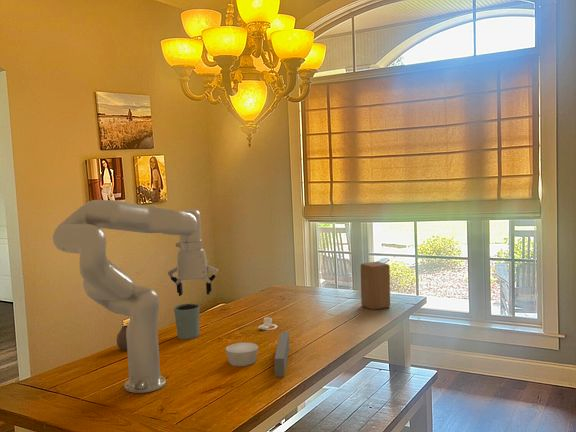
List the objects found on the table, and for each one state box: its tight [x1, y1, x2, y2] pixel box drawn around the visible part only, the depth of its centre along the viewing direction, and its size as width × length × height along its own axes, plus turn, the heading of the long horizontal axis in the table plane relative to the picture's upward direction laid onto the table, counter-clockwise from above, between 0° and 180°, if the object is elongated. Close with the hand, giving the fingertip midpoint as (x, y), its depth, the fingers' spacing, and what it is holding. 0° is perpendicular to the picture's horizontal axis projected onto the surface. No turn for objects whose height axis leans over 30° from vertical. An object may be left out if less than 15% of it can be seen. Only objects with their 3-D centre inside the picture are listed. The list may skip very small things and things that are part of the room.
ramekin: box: [225, 342, 259, 367], centre depth 199 cm, size 11×11×5 cm
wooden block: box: [360, 261, 391, 311], centre depth 264 cm, size 10×10×20 cm
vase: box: [116, 325, 128, 351], centre depth 217 cm, size 7×7×9 cm
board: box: [274, 331, 290, 378], centre depth 198 cm, size 28×3×6 cm, turn 176°
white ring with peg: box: [258, 316, 278, 331], centre depth 239 cm, size 9×8×4 cm
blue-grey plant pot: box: [173, 303, 201, 340], centre depth 230 cm, size 10×10×12 cm
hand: (194, 294), depth 200 cm, fingers open, 9 cm apart
